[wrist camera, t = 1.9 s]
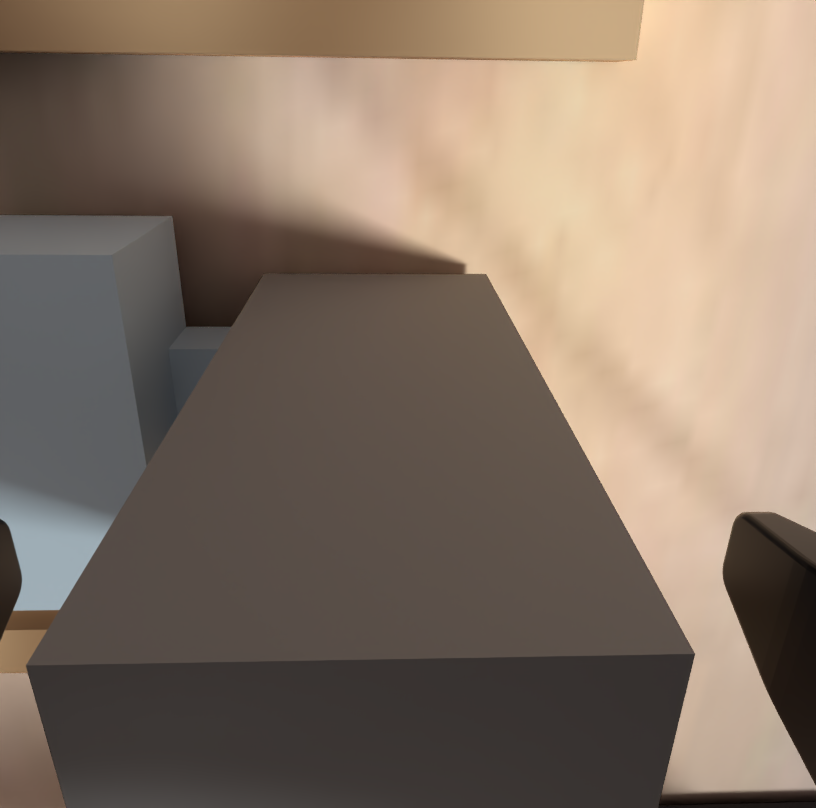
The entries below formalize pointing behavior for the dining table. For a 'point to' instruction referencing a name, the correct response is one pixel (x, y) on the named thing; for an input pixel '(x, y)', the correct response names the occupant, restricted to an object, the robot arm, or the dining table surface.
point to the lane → (310, 37)
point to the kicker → (314, 544)
